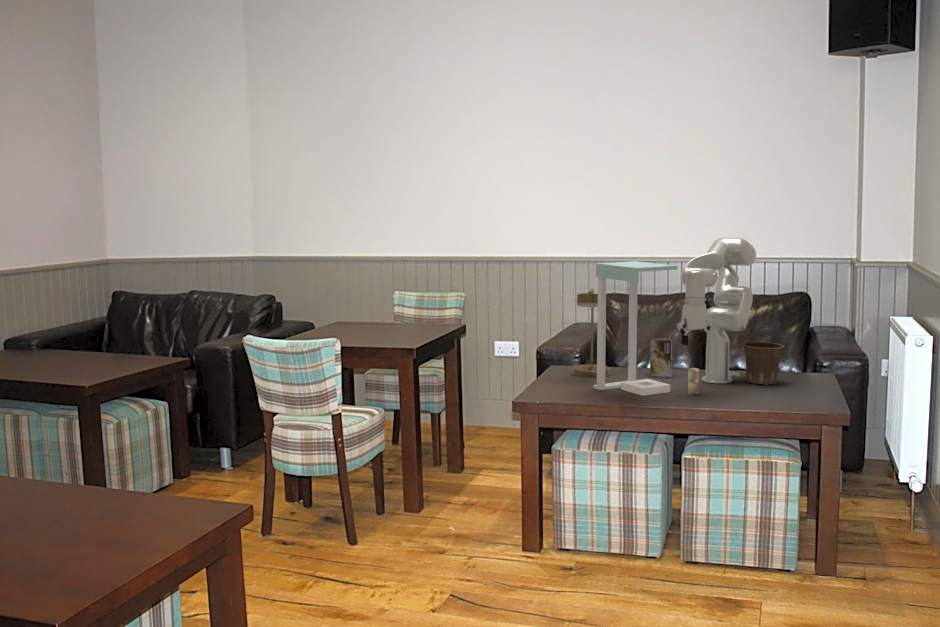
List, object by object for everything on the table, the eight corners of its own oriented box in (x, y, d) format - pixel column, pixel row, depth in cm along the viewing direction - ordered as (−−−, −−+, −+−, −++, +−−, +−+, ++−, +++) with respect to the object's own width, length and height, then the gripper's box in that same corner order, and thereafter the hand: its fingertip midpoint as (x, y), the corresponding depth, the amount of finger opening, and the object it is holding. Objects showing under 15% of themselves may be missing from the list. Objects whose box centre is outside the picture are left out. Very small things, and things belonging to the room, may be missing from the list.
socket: (647, 385, 403) (647, 378, 403) (670, 392, 391) (670, 384, 391) (620, 389, 396) (621, 382, 396) (642, 395, 384) (642, 388, 384)
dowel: (696, 392, 390) (697, 367, 389) (699, 394, 386) (700, 369, 385) (687, 392, 390) (687, 368, 389) (689, 394, 386) (689, 369, 385)
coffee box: (672, 374, 426) (673, 338, 424) (671, 377, 420) (671, 340, 418) (651, 373, 429) (651, 337, 427) (649, 376, 423) (650, 340, 421)
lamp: (567, 381, 414) (568, 292, 409) (573, 369, 440) (573, 286, 435) (608, 382, 410) (609, 293, 405) (611, 370, 437) (612, 286, 432)
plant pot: (777, 378, 416) (779, 341, 413) (786, 386, 400) (787, 348, 397) (738, 378, 417) (739, 341, 415) (745, 386, 401) (746, 347, 399)
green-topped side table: (631, 383, 409) (633, 261, 402) (674, 394, 386) (677, 265, 379) (593, 388, 400) (594, 263, 393) (634, 400, 376) (636, 268, 369)
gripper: (705, 299, 391) (704, 341, 393) (671, 301, 382) (670, 344, 384) (718, 300, 384) (717, 343, 386) (684, 303, 376) (683, 347, 378)
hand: (694, 343), depth 385 cm, fingers open, 9 cm apart
